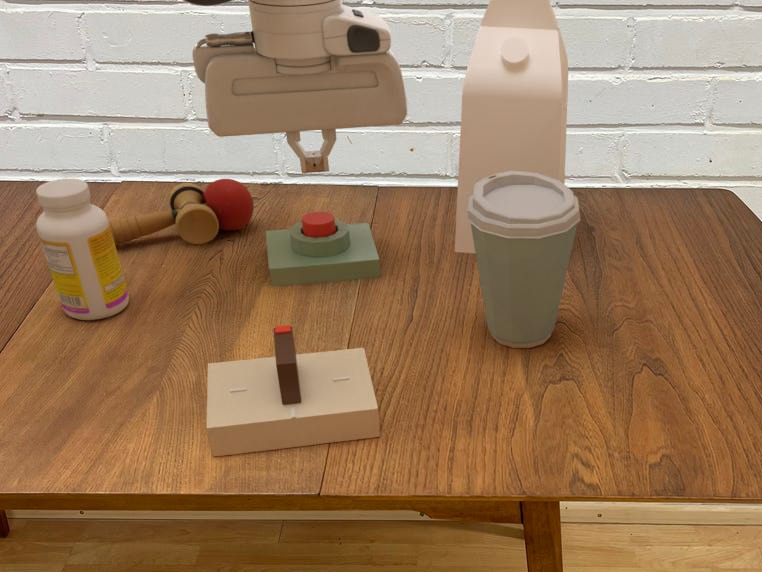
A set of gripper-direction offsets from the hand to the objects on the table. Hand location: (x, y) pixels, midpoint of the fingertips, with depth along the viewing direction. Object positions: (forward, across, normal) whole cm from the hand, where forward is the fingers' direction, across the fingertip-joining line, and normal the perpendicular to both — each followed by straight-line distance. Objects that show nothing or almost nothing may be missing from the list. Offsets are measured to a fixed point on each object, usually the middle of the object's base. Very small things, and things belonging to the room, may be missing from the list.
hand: (315, 170), depth 95 cm
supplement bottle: (+11, -24, -6) cm, 27 cm away
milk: (+11, +23, +3) cm, 25 cm away
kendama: (+11, -16, +10) cm, 22 cm away
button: (+7, 0, 0) cm, 7 cm away
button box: (+11, 0, 0) cm, 11 cm away
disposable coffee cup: (+11, +18, -20) cm, 29 cm away
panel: (+11, -5, -29) cm, 32 cm away
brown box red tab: (+8, -5, -29) cm, 31 cm away
